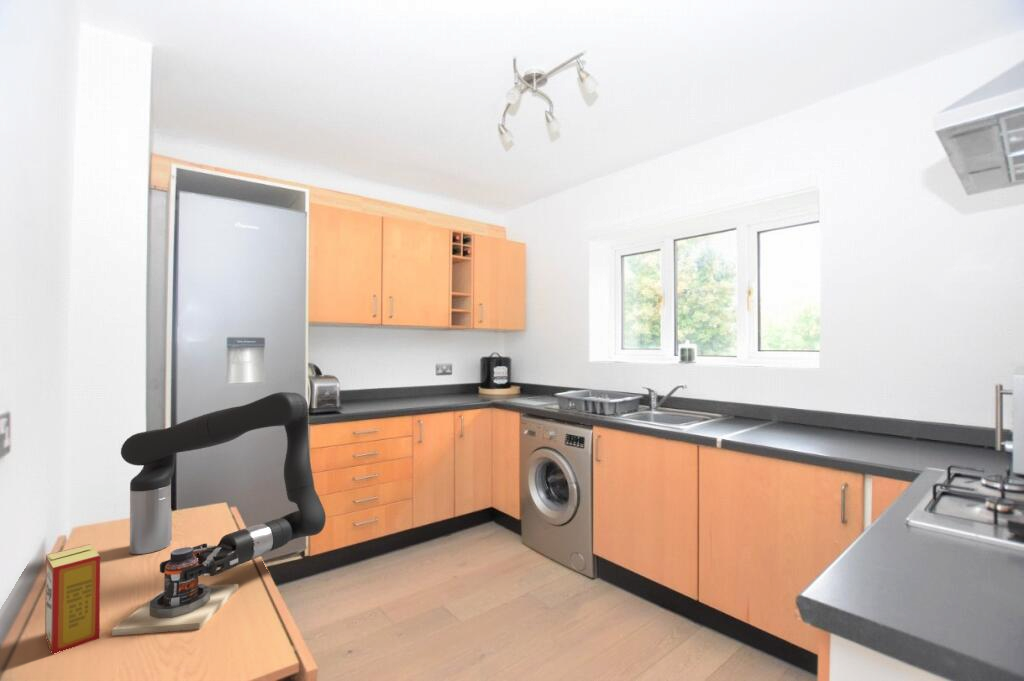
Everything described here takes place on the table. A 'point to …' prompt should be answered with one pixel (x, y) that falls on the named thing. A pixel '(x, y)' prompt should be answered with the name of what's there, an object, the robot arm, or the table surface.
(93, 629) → the baking soda box
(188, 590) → the supplement bottle
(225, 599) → the birch board
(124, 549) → the table surface
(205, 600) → the ring collar
